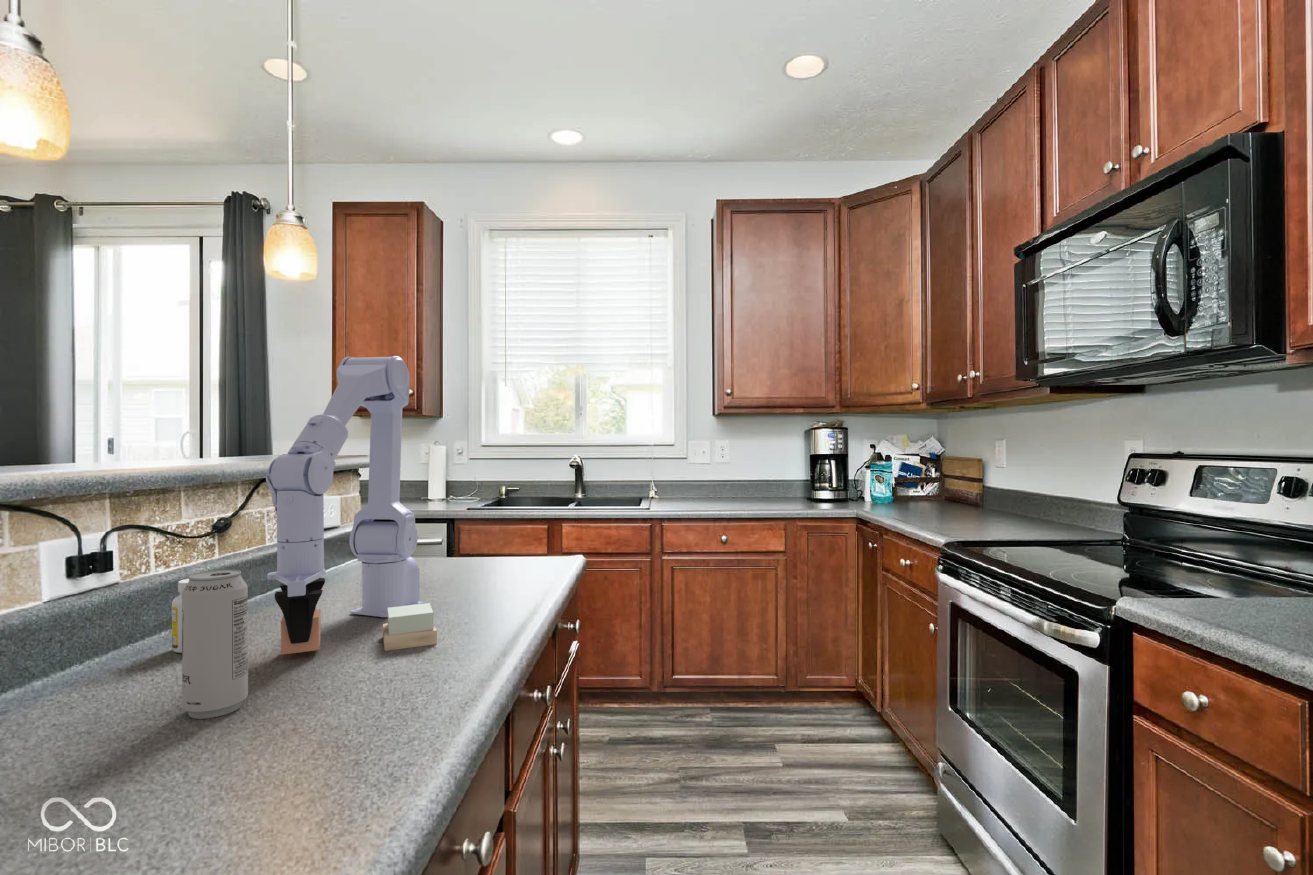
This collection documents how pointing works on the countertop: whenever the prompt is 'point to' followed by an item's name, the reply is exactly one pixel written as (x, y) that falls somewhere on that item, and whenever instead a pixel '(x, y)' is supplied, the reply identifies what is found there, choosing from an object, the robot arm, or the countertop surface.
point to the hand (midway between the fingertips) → (301, 636)
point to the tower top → (410, 618)
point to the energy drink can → (214, 643)
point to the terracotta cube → (305, 646)
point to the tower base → (408, 639)
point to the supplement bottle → (177, 618)
